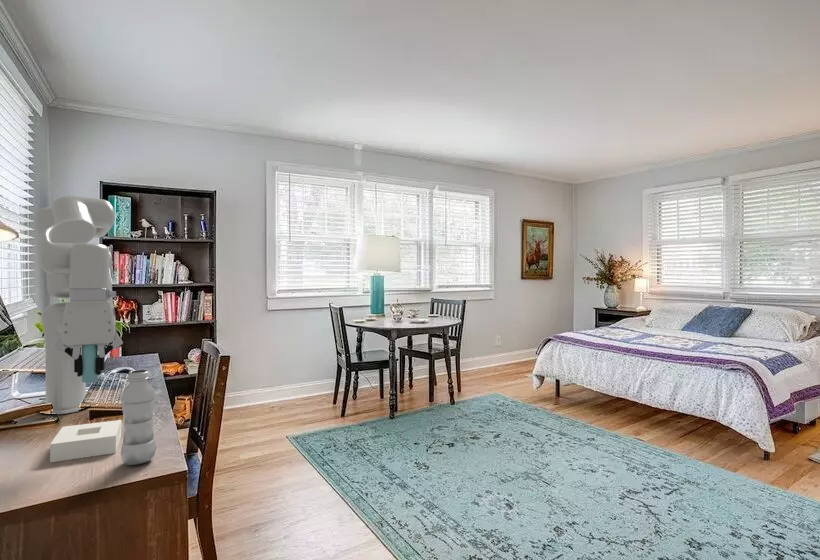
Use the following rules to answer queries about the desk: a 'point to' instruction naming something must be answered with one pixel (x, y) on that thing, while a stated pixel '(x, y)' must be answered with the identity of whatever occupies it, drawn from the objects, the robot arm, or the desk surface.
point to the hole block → (86, 440)
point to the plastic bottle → (138, 419)
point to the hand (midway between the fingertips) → (89, 373)
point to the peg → (89, 363)
